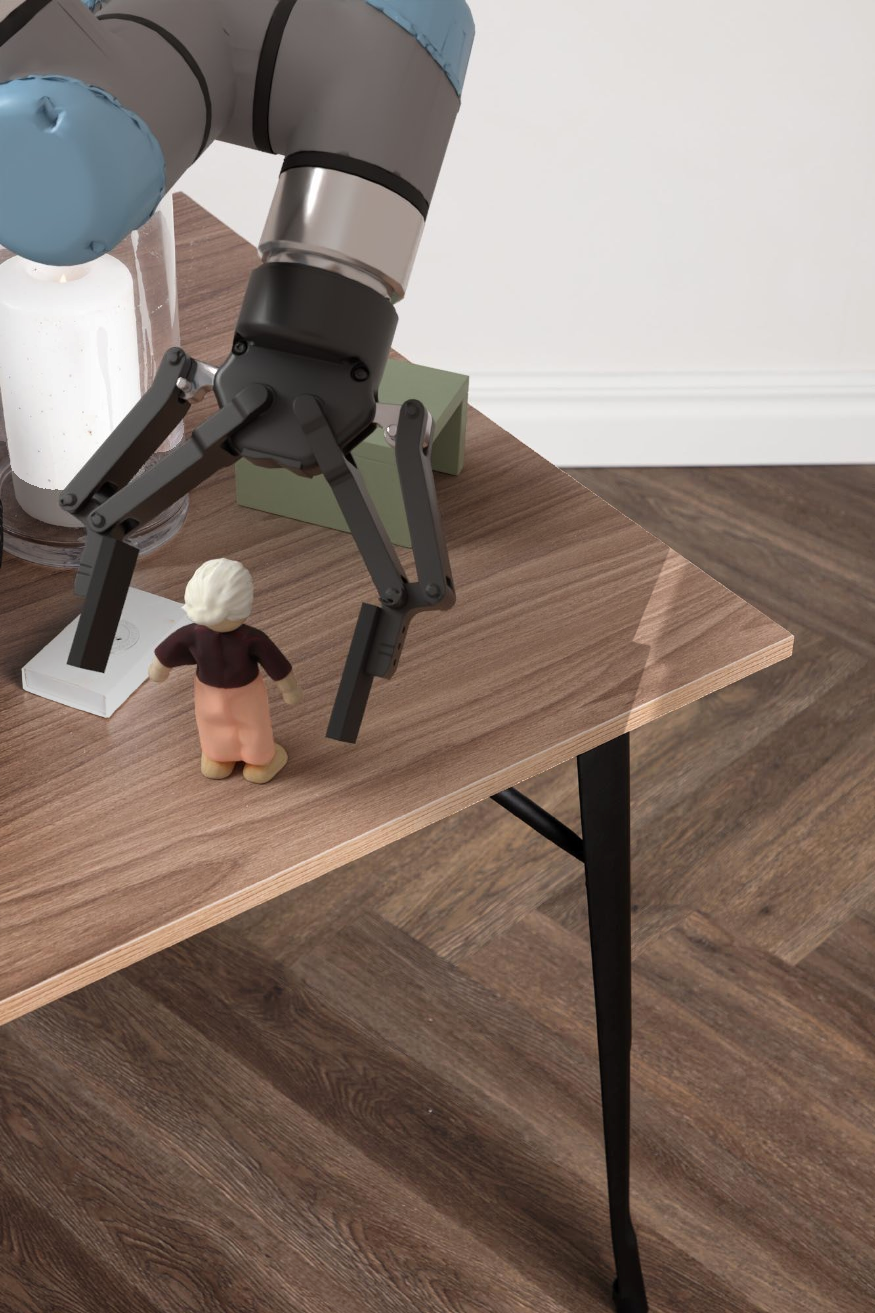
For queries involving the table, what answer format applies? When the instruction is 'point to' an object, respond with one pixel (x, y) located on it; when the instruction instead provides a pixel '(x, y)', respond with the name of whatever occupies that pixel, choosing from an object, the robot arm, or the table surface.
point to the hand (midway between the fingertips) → (209, 705)
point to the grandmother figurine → (228, 673)
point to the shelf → (370, 457)
